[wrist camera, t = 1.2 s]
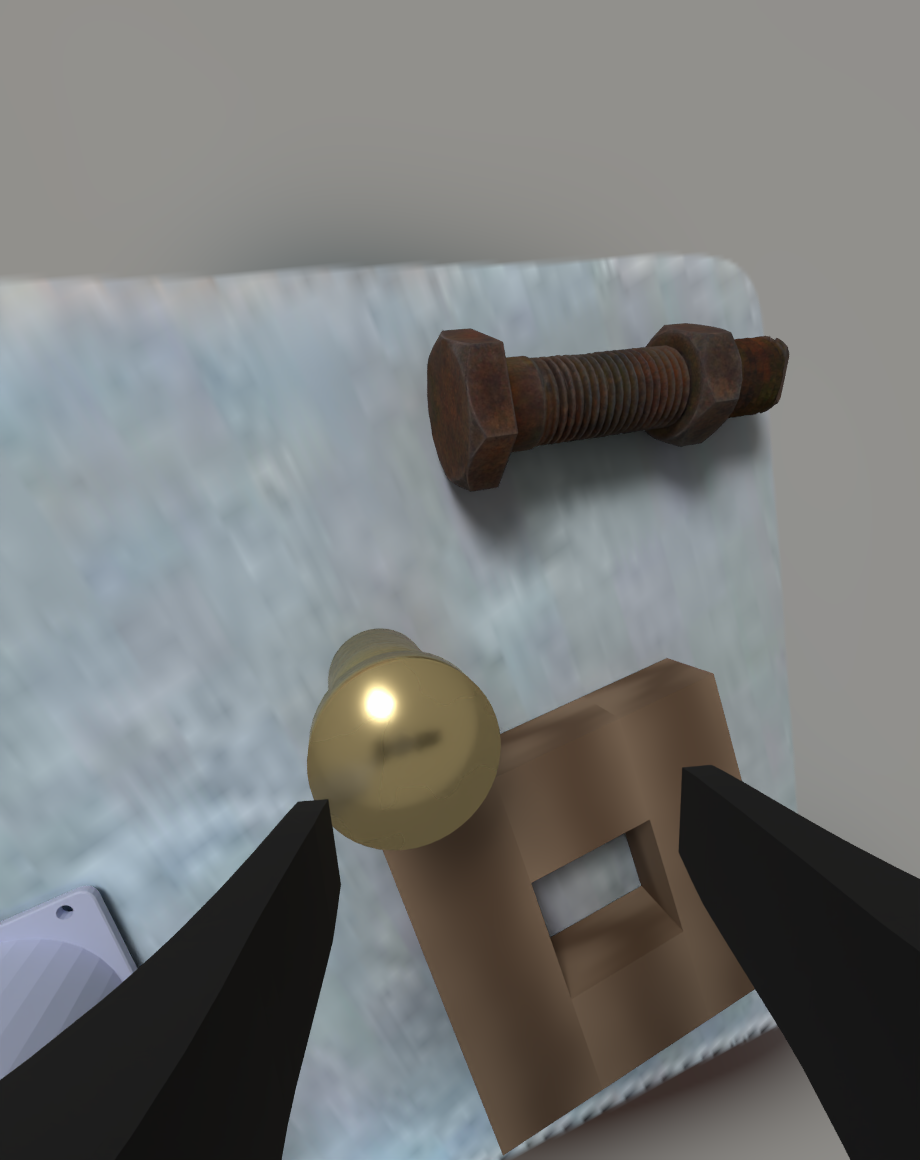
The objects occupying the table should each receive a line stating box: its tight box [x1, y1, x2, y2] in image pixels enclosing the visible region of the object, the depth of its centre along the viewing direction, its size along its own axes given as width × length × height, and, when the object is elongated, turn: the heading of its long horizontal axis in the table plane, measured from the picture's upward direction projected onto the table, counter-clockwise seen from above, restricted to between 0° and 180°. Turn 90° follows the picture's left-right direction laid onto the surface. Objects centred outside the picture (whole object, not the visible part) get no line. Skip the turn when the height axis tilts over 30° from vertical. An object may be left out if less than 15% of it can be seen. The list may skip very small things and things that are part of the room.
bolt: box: [427, 323, 789, 491], centre depth 20 cm, size 6×5×15 cm
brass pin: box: [307, 629, 501, 850], centre depth 17 cm, size 5×5×8 cm
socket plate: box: [383, 658, 755, 1155], centre depth 22 cm, size 15×15×3 cm
